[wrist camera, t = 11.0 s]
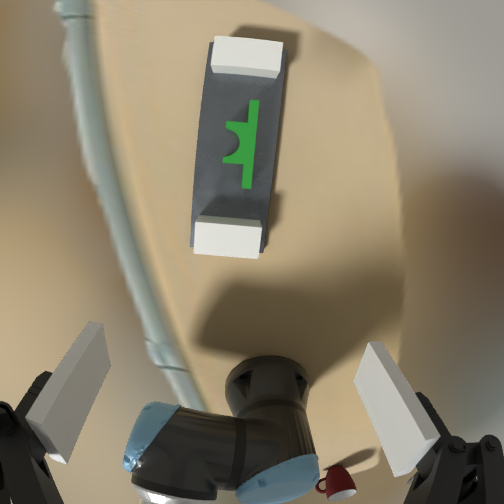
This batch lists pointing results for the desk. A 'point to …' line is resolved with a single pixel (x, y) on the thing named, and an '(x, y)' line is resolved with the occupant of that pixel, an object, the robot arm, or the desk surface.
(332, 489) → the mug
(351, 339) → the desk surface
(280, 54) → the mounting rail
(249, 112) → the pipe clamp
